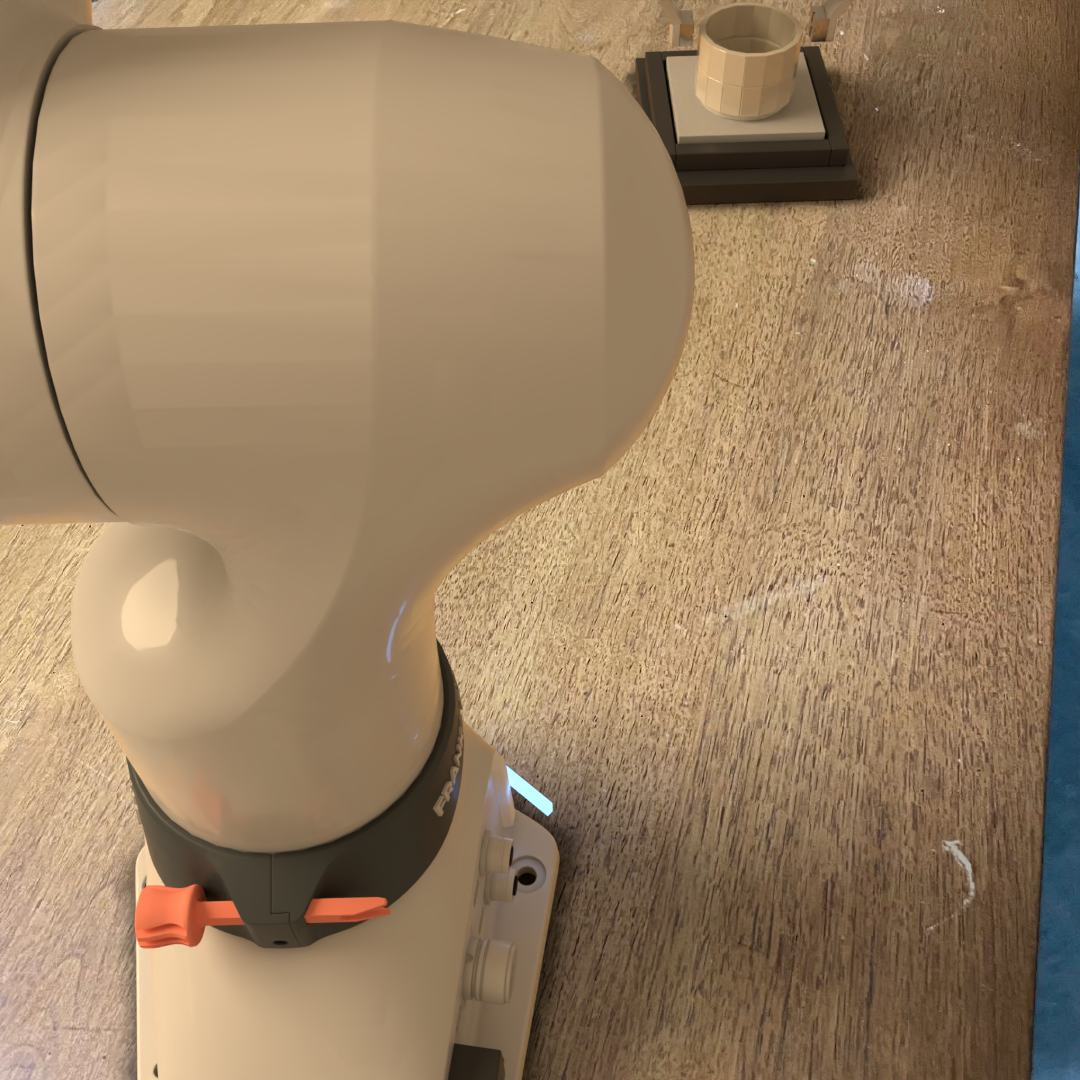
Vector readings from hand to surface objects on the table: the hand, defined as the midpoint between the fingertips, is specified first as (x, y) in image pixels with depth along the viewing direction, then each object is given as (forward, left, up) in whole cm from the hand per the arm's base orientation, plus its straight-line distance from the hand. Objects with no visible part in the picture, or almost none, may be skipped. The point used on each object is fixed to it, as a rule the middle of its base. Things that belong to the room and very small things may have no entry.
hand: (750, 40), depth 82 cm
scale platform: (0, 0, -6) cm, 6 cm away
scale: (0, 0, -7) cm, 7 cm away
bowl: (0, 0, -4) cm, 4 cm away
